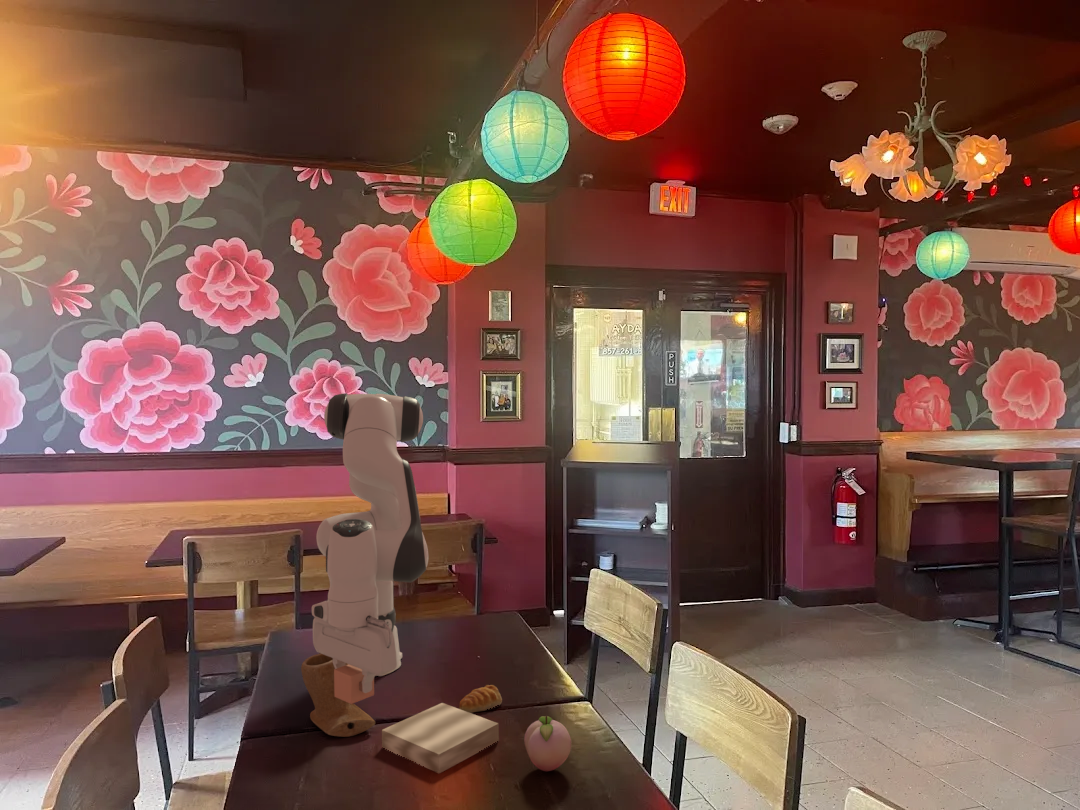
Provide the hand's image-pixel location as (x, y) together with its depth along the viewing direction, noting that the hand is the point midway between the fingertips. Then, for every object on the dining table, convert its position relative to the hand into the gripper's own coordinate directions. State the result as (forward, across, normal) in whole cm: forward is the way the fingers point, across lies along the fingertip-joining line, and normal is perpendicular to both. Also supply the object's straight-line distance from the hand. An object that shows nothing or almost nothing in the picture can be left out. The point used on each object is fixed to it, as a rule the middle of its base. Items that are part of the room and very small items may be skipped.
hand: (354, 686), depth 139 cm
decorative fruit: (+16, -28, -22) cm, 39 cm away
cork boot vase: (+16, +18, -9) cm, 26 cm away
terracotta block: (+2, 0, 0) cm, 2 cm away
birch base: (+16, -4, -17) cm, 24 cm away
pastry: (+16, +2, -35) cm, 39 cm away
